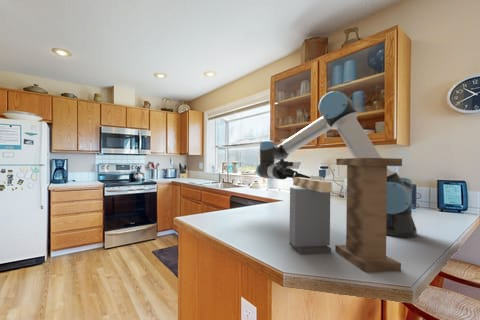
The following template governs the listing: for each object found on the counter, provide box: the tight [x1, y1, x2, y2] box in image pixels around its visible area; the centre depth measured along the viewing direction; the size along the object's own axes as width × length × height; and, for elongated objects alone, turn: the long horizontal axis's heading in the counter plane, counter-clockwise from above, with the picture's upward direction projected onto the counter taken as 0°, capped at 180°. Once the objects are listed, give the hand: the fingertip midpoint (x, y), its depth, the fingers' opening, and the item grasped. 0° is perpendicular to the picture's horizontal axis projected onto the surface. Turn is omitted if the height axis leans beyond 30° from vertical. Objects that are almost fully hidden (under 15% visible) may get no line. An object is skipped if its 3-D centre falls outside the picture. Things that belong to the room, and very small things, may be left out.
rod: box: [292, 177, 333, 193], centre depth 79 cm, size 22×3×3 cm, turn 9°
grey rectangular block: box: [288, 186, 332, 255], centre depth 79 cm, size 10×12×20 cm
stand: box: [334, 157, 403, 274], centre depth 70 cm, size 15×10×30 cm, turn 9°
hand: (310, 172), depth 96 cm, fingers open, 13 cm apart
